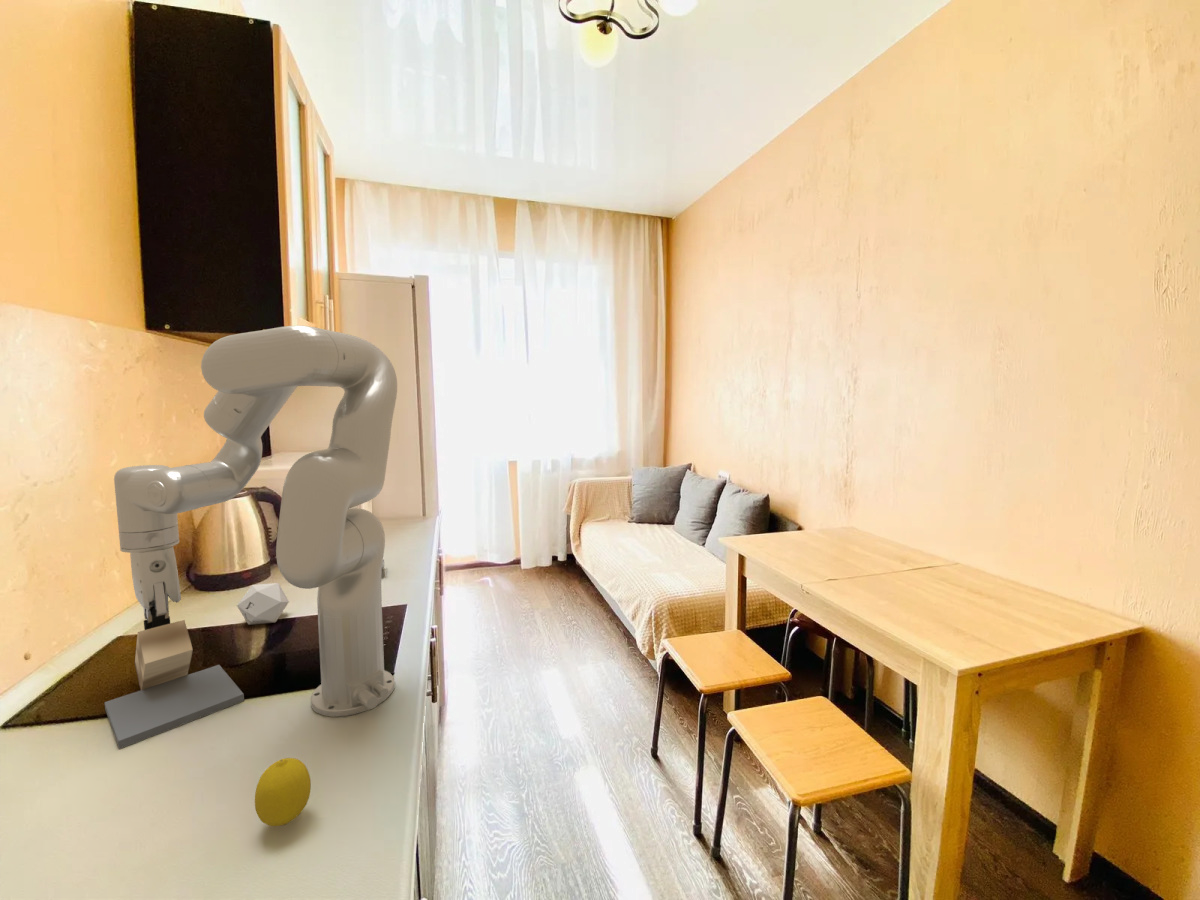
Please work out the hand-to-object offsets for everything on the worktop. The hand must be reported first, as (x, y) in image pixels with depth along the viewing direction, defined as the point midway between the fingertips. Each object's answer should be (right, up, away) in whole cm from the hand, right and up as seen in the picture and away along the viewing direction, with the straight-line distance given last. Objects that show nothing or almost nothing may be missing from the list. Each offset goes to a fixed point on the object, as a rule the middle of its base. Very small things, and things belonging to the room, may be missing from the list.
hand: (158, 640), depth 87 cm
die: (+2, -5, +25) cm, 26 cm away
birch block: (0, -6, +1) cm, 6 cm away
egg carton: (+12, -3, +55) cm, 56 cm away
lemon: (+40, -11, -28) cm, 50 cm away
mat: (+8, -8, -6) cm, 13 cm away
